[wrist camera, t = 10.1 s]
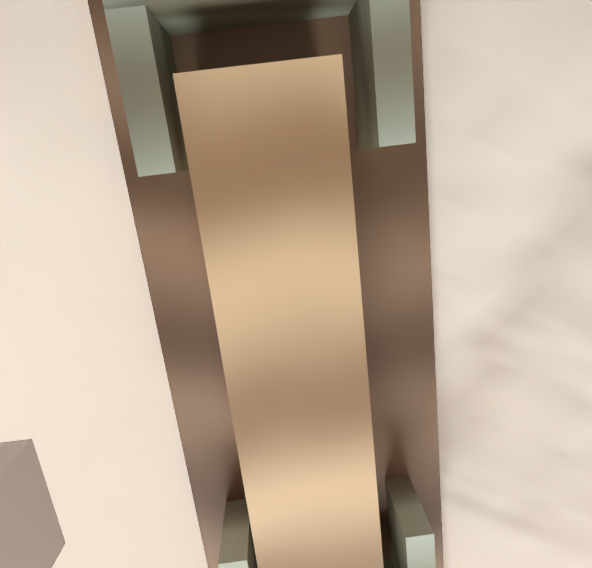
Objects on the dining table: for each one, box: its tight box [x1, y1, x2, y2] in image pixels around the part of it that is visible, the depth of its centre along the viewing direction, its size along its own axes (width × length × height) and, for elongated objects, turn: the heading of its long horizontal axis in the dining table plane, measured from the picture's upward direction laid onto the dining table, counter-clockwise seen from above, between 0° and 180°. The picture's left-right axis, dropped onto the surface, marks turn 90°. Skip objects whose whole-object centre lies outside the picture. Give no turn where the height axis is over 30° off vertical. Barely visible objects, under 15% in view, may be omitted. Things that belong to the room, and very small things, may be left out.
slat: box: [173, 54, 384, 568], centre depth 15 cm, size 18×4×4 cm, turn 6°
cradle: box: [88, 0, 443, 568], centre depth 16 cm, size 28×10×4 cm, turn 6°
